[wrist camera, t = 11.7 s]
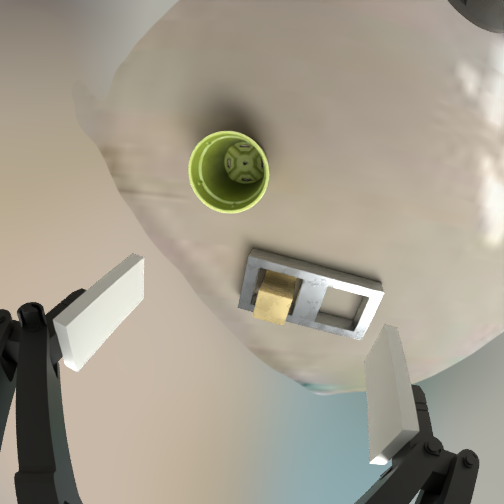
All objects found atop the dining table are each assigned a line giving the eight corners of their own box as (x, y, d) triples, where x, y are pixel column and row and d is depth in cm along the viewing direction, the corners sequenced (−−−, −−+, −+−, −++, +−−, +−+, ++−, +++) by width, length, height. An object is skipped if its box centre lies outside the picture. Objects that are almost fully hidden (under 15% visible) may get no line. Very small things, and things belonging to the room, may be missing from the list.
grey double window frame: (253, 247, 46) (248, 256, 44) (381, 282, 44) (384, 292, 41) (242, 297, 50) (237, 307, 48) (360, 328, 48) (361, 340, 45)
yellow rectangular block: (268, 266, 47) (259, 290, 41) (297, 274, 47) (292, 299, 40) (261, 291, 49) (252, 316, 43) (289, 299, 49) (283, 325, 42)
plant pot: (216, 196, 44) (193, 214, 37) (209, 131, 41) (183, 135, 33) (281, 195, 42) (271, 213, 35) (277, 126, 39) (266, 127, 31)
